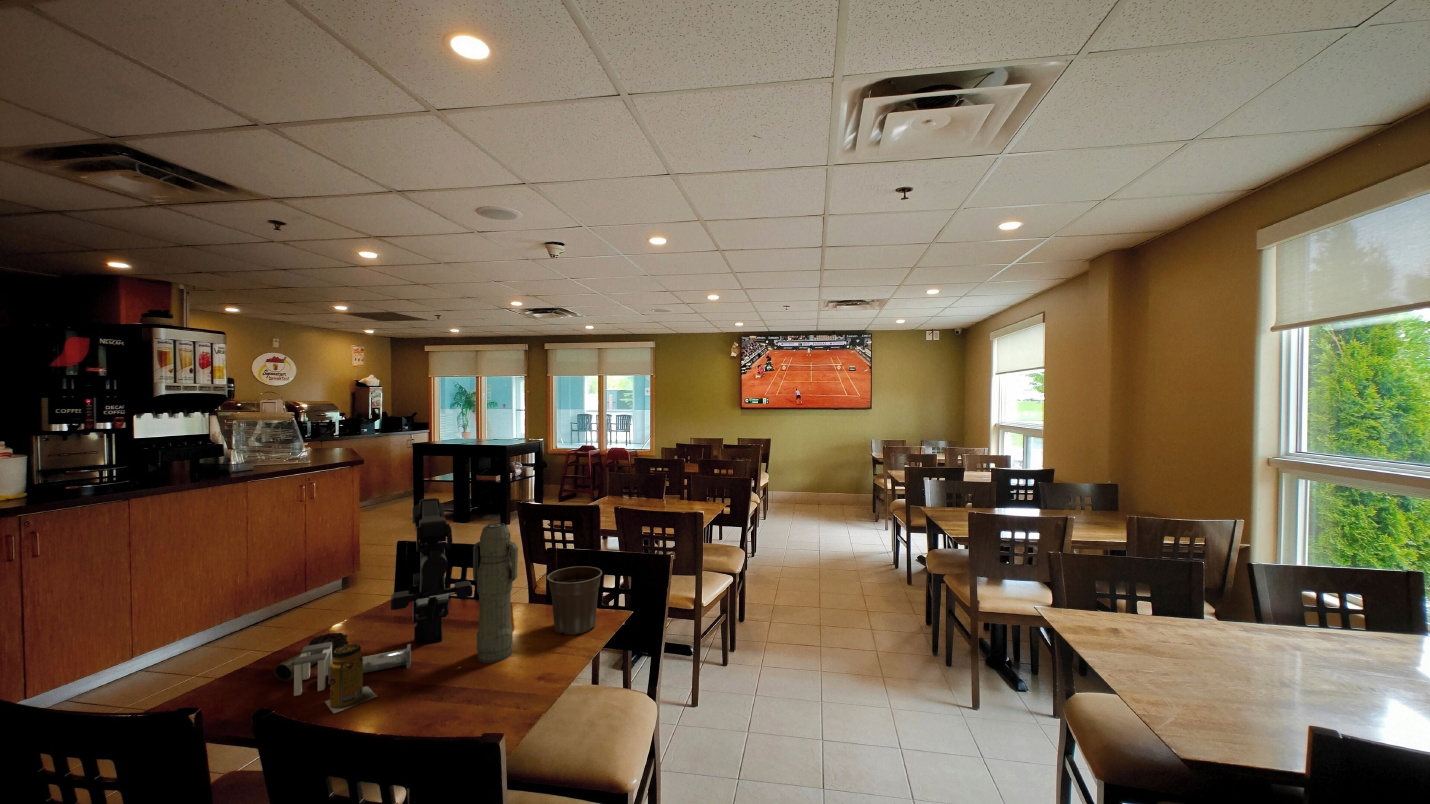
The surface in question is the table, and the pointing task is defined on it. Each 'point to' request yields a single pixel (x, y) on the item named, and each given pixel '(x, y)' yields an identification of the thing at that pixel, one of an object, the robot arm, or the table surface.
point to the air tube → (384, 660)
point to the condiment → (347, 679)
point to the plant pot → (574, 598)
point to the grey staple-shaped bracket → (305, 661)
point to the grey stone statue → (494, 592)
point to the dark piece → (287, 668)
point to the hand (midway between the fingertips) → (432, 627)
